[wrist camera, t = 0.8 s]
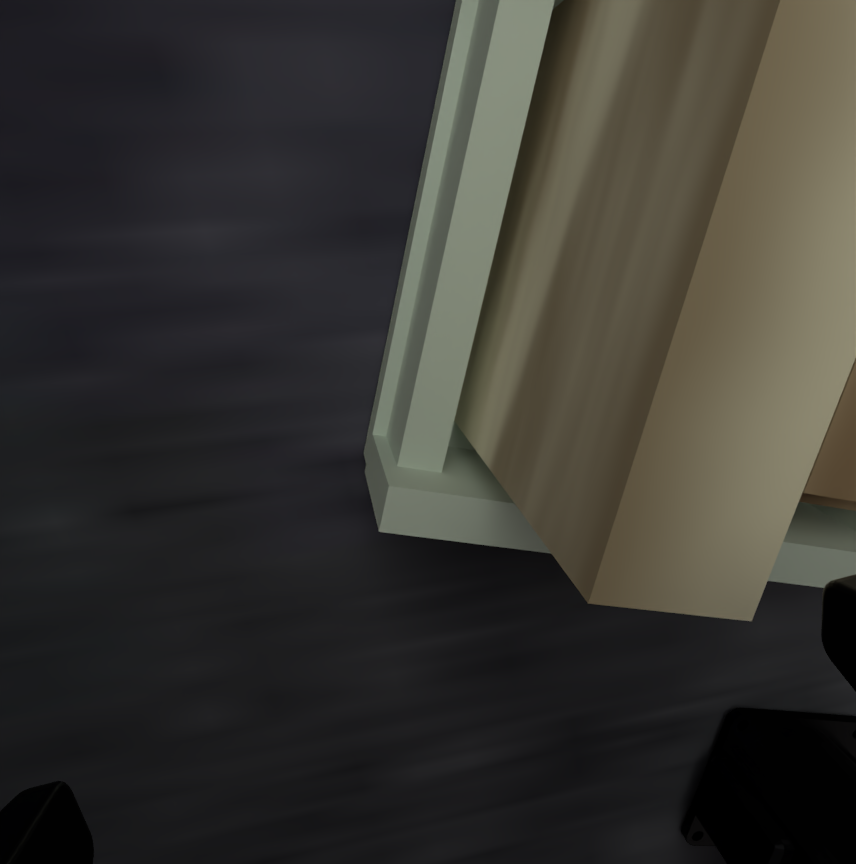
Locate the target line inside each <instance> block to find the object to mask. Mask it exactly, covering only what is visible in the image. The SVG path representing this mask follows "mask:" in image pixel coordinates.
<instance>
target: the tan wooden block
mask: <svg viewBox="0 0 856 864" xmlns="http://www.w3.org/2000/svg"><path fill="white" fill-rule="evenodd" d="M855 358H856V0H563V1H562V2H561V3H560V4H559V5H557V6H556V7H555V8H554V9H553V10H552V14H551V18H550V22H549V26H548V30H547V35H546V39H545V43H544V47H543V51H542V55H541V60H540V64H539V68H538V72H537V76H536V81H535V85H534V89H533V93H532V97H531V101H530V106H529V110H528V114H527V118H526V122H525V127H524V131H523V135H522V139H521V143H520V147H519V152H518V156H517V160H516V164H515V168H514V173H513V177H512V181H511V185H510V189H509V193H508V198H507V202H506V206H505V210H504V214H503V219H502V223H501V227H500V231H499V235H498V239H497V244H496V248H495V252H494V256H493V260H492V265H491V269H490V273H489V277H488V281H487V285H486V290H485V294H484V298H483V302H482V306H481V311H480V315H479V319H478V323H477V327H476V331H475V336H474V340H473V344H472V348H471V352H470V357H469V361H468V365H467V369H466V373H465V377H464V382H463V386H462V390H461V394H460V398H459V403H458V407H457V411H456V415H455V419H454V421H455V423H456V424H457V425H458V427H459V428H460V430H461V431H462V432H463V434H464V435H465V436H466V438H467V439H468V440H469V442H470V443H471V445H472V446H473V447H474V449H475V450H476V451H477V453H478V454H479V455H480V457H481V458H482V460H483V461H484V462H485V464H486V465H487V466H488V468H489V469H490V470H491V472H492V473H493V475H494V476H495V477H496V479H497V480H498V481H499V483H500V484H501V485H502V487H503V488H504V490H505V491H506V492H507V494H508V495H509V496H510V498H511V499H512V500H513V502H514V503H515V505H516V506H517V507H518V509H519V510H520V511H521V513H522V514H523V515H524V517H525V518H526V520H527V521H528V522H529V524H530V525H531V526H532V528H533V529H534V530H535V532H536V533H537V535H538V536H539V537H540V539H541V540H542V541H543V543H544V544H545V545H546V547H547V548H548V550H549V551H550V552H551V554H552V555H553V556H554V558H555V559H556V560H557V562H558V563H559V565H560V566H561V567H562V569H563V570H564V571H565V573H566V574H567V575H568V577H569V578H570V580H571V581H572V582H573V584H574V585H575V586H576V588H577V589H578V590H579V592H580V593H581V595H582V596H583V597H584V599H585V600H586V601H587V603H588V604H597V605H606V606H615V607H624V608H633V609H642V610H652V611H661V612H670V613H679V614H688V615H697V616H707V617H716V618H725V619H734V620H743V621H752V619H753V617H754V614H755V612H756V609H757V606H758V604H759V601H760V599H761V596H762V594H763V591H764V589H765V586H766V584H767V581H768V579H769V576H770V574H771V571H772V568H773V566H774V563H775V561H776V558H777V556H778V553H779V551H780V548H781V546H782V543H783V541H784V538H785V536H786V533H787V530H788V528H789V525H790V523H791V520H792V518H793V515H794V513H795V510H796V508H797V505H798V503H799V500H800V497H801V495H802V492H803V490H804V487H805V485H806V482H807V480H808V477H809V475H810V472H811V470H812V467H813V465H814V462H815V459H816V457H817V454H818V452H819V449H820V447H821V444H822V442H823V439H824V437H825V434H826V432H827V429H828V427H829V424H830V421H831V419H832V416H833V414H834V411H835V409H836V406H837V404H838V401H839V399H840V396H841V394H842V391H843V388H844V386H845V383H846V381H847V378H848V376H849V373H850V371H851V368H852V366H853V363H854V361H855Z"/></svg>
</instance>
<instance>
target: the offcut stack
mask: <svg viewBox="0 0 856 864" xmlns="http://www.w3.org/2000/svg"><path fill="white" fill-rule="evenodd" d="M799 502H803V503H809V504H816V505H822V506H828V507H834V508H841V509H847V510H853V511H856V358H855V361H854V363H853V366H852V368H851V371H850V373H849V376H848V378H847V381H846V383H845V386H844V388H843V391H842V394H841V396H840V399H839V401H838V404H837V406H836V409H835V411H834V414H833V416H832V419H831V421H830V424H829V427H828V429H827V432H826V434H825V437H824V439H823V442H822V444H821V447H820V449H819V452H818V454H817V457H816V459H815V462H814V465H813V467H812V470H811V472H810V475H809V477H808V480H807V482H806V485H805V487H804V490H803V492H802V495H801V497H800V500H799Z"/></svg>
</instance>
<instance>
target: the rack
mask: <svg viewBox="0 0 856 864" xmlns="http://www.w3.org/2000/svg"><path fill="white" fill-rule="evenodd" d="M562 1H563V0H456V3H455V8H454V13H453V18H452V23H451V28H450V33H449V38H448V43H447V47H446V52H445V57H444V62H443V67H442V72H441V77H440V82H439V87H438V91H437V96H436V101H435V106H434V111H433V116H432V121H431V126H430V131H429V135H428V140H427V145H426V150H425V155H424V160H423V165H422V170H421V175H420V179H419V184H418V189H417V194H416V199H415V204H414V209H413V214H412V219H411V223H410V228H409V233H408V238H407V243H406V248H405V253H404V258H403V263H402V268H401V272H400V277H399V282H398V287H397V292H396V297H395V302H394V307H393V312H392V316H391V321H390V326H389V331H388V336H387V341H386V346H385V351H384V356H383V360H382V365H381V370H380V375H379V380H378V385H377V390H376V395H375V400H374V404H373V409H372V414H371V419H370V424H369V429H368V434H367V439H366V444H365V448H364V457H365V461H366V469H365V475H366V480H367V484H368V488H369V492H370V497H371V501H372V505H373V509H374V513H375V518H376V522H377V526H378V530H379V532H384V533H392V534H400V535H408V536H416V537H424V538H432V539H440V540H448V541H456V542H464V543H472V544H480V545H488V546H496V547H503V548H511V549H519V550H527V551H535V552H543V553H551V552H550V551H549V550H548V548H547V547H546V545H545V544H544V543H543V541H542V540H541V539H540V537H539V536H538V535H537V533H536V532H535V530H534V529H533V528H532V526H531V525H530V524H529V522H528V521H527V520H526V518H525V517H524V515H523V514H522V513H521V511H520V510H519V509H518V507H517V506H516V505H515V503H514V502H513V500H512V499H511V498H510V496H509V495H508V494H507V492H506V491H505V490H504V488H503V487H502V485H501V484H500V483H499V481H498V480H497V479H496V477H495V476H494V475H493V473H492V472H491V470H490V469H489V468H488V466H487V465H486V464H485V462H484V461H483V460H482V458H481V457H480V455H479V454H478V453H477V451H476V450H475V449H474V447H473V446H472V445H471V443H470V442H469V440H468V439H467V438H466V436H465V435H464V434H463V432H462V431H461V430H460V428H459V427H458V425H457V424H456V423H455V421H454V419H455V415H456V411H457V407H458V403H459V398H460V394H461V390H462V386H463V382H464V377H465V373H466V369H467V365H468V361H469V357H470V352H471V348H472V344H473V340H474V336H475V331H476V327H477V323H478V319H479V315H480V311H481V306H482V302H483V298H484V294H485V290H486V285H487V281H488V277H489V273H490V269H491V265H492V260H493V256H494V252H495V248H496V244H497V239H498V235H499V231H500V227H501V223H502V219H503V214H504V210H505V206H506V202H507V198H508V193H509V189H510V185H511V181H512V177H513V173H514V168H515V164H516V160H517V156H518V152H519V147H520V143H521V139H522V135H523V131H524V127H525V122H526V118H527V114H528V110H529V106H530V101H531V97H532V93H533V89H534V85H535V81H536V76H537V72H538V68H539V64H540V60H541V55H542V51H543V47H544V43H545V39H546V35H547V30H548V26H549V22H550V18H551V14H552V10H553V9H554V8H555V7H556V6H557V5H559V4H560V3H561V2H562ZM855 574H856V511H853V510H847V509H841V508H834V507H828V506H822V505H816V504H809V503H803V502H799V503H798V505H797V508H796V510H795V513H794V515H793V518H792V520H791V523H790V525H789V528H788V530H787V533H786V536H785V538H784V541H783V543H782V546H781V548H780V551H779V553H778V556H777V558H776V561H775V563H774V566H773V568H772V571H771V574H770V576H769V579H768V581H773V582H781V583H789V584H797V585H805V586H813V587H821V588H824V587H825V585H826V584H827V583H828V582H830V581H832V580H835V579H839V578H843V577H847V576H851V575H855Z"/></svg>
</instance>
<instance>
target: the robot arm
mask: <svg viewBox="0 0 856 864" xmlns="http://www.w3.org/2000/svg"><path fill="white" fill-rule="evenodd" d="M821 635H822V642H823V646H824V649H825V651H826V653H827V655H828V657H829V658H830V660H831V661H832V662H833V663H834V665H835V666H836V667H837V669H838V670H839V671H840V672H841V674H842V675H843V676H844V677H845V679H846V680H847V681H848V682H849V684H850V685H851V686H852V688H853V689H854V690H855V691H856V574H855V575H851V576H847V577H843V578H839V579H835V580H832V581H830V582H828V583H827V584H826V585H825V587H824V589H823V600H822V634H821ZM681 832H682V834H683V836H684V838H685V839H686V841H687V843H689V844H690V845H694V846H716V847H717V849H718V850H719V852H720V853H721V855H722V856H723V858H724V859H725V861H726V863H727V864H856V716H844V715H831V714H818V713H804V712H791V711H777V710H764V709H750V708H736V709H734V710H732V711H731V712H730V713H729V714H728V715H727V717H726V719H725V721H724V724H723V726H722V729H721V731H720V734H719V736H718V739H717V741H716V744H715V746H714V749H713V751H712V754H711V756H710V759H709V761H708V764H707V766H706V769H705V771H704V774H703V776H702V779H701V781H700V784H699V786H698V789H697V791H696V794H695V796H694V799H693V801H692V804H691V806H690V809H689V811H688V814H687V816H686V819H685V821H684V824H683V826H682V830H681ZM93 857H94V847H93V840H92V836H91V833H90V830H89V828H88V826H87V824H86V821H85V819H84V817H83V815H82V812H81V810H80V808H79V806H78V803H77V801H76V799H75V797H74V794H73V792H72V790H71V789H70V787H69V786H68V785H67V784H66V783H64V782H61V781H56V782H52V783H48V784H44V785H40V786H37V787H33V788H29V789H26V790H24V791H22V792H21V793H19V794H18V795H17V796H16V797H15V798H14V799H13V800H12V801H11V802H10V803H8V804H7V805H6V806H5V807H4V808H3V809H2V810H1V811H0V864H93Z"/></svg>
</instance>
